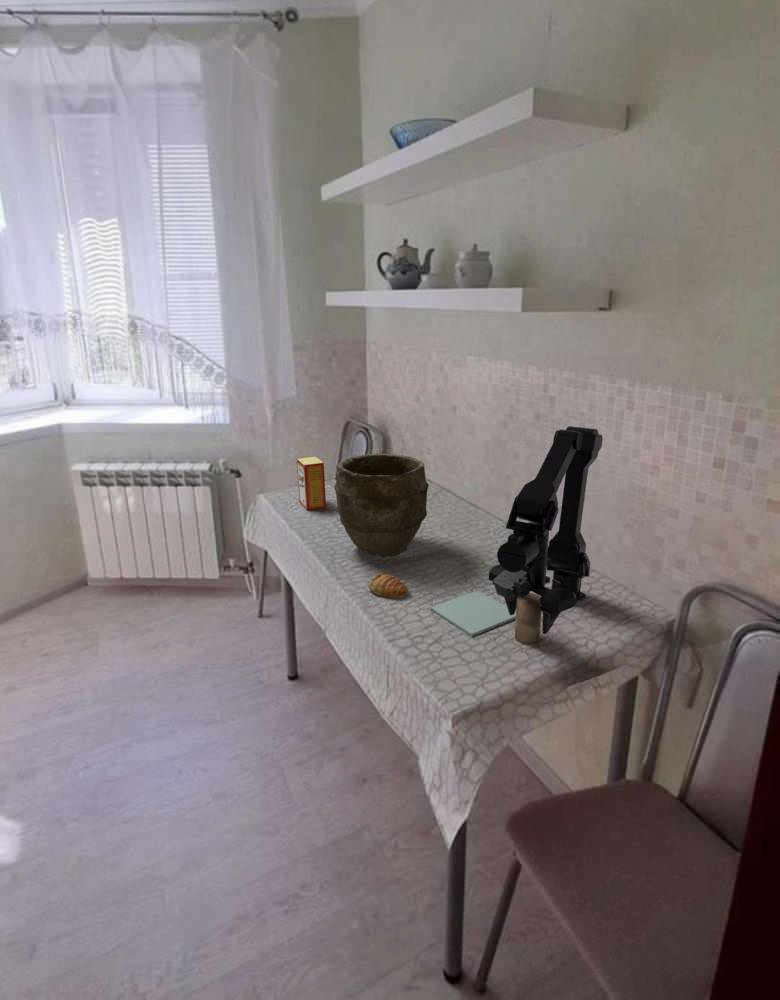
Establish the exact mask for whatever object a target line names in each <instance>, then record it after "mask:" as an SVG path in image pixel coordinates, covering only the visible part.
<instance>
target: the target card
mask: <svg viewBox="0 0 780 1000" xmlns="http://www.w3.org/2000/svg"><path fill="white" fill-rule="evenodd" d="M429 610H430V611H432V612H433V613H434V614H436V615H438V616H439V617H440V618H441V619H442V618H443V619H444V620H446V621H447V622H448V623H450V624H452V625H453V626H455V627H456V628H458V629H459V630H461V631H463V632H464V633H466V634H467V635H468V636H470V637H473V636H476V635H479V634H481V633H484V632H486V631H488V630H491V629H494V628H496V627H498V625H499V626H501V625H504V624H506V623H509V622H511V621H513V620H516V611H515V614H514V615H510V614H509V611H508V608H507V605H504V604H503V603H501V602H498V601H497V600H495V599H493V598H491V597H489V596H488V595H486V594H484V593H482V592H480V591H478V590H475V591H472V592H469V593H467V594H464V595H460V596H459V597H456V598H453V599H450V600H448V601H447V600H446V601H444V602H441V603H439V604H435V605H433V606H430V609H429Z"/></svg>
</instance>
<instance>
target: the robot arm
mask: <svg viewBox="0 0 780 1000" xmlns="http://www.w3.org/2000/svg"><path fill="white" fill-rule="evenodd" d="M603 441H604V439H603V435H602V434H599V430H598V429H597V428H591V427H590V428H589V427H581V426H580V427H579V426H572V425H569V426H567V427H566V429H557V430H556V431H555V433H554V435H553V441H552V442H553V443H552V444H551V446H550V448H549V450H548V452H547V454H546V456H545V458H544V460H543V463H542V465H541V466H540V468H539V470H538V473H537V474H536V476H535V477H534V479H532V480H530V481H529V482H527V483H525V484H524V485H523V486H522V488H521V489H520V491H519V493H518V494H517V495H516V496H515V497H514V500H513V502H512V503H513V504H512V507H511V509H510V513H509V517H508V519H507V522H506V525H505V526H506V527H505V529H507V530H512V531H513V532H512V533H511V534H509V535H508V536H507V541H505V542H504V543H503V544H501V545H500V547H498V549H497V552H496V558H497V561H498V564H496V565H494V566H492V567H490V569H489V571H488V581H491V582H492V584H493V586H494V590H495V593H496V594H497V595H498V596H501V597H503V599H504V601H505V604H506V605H505V606H506V607H507V608H508V611H509V614H510V615H514V614H515V612H516V607H517V597H521V598H523V597H525V596H526V595H527V594H528V593H533V594H537V595H539V596H540V597H541V598H540V604H541V605H542V606H541V607H539V609H540V610H541V611H542V621H541V625H542V626H541V627H542V634H544V635H545V634H548V633H549V632H550V630H551V628H552V627H553V625H554V624H555V622H556V620H557V619H558V617H559V616H560V615H561V613H562V612H565V611H568V610H570V609H572V608H574V607H576V604H577V601H578V600H580V599H582V598H584V597H585V598H586V593H585V592H582V591H581V590H582V589H581V588H582V579H584V578H586V577H590V572H591V571H590V570H591V561H590V559H589V556H588V554H587V553H586V551H587V550H586V549H587V548H586V547H587V543H586V541H585V538H584V537H583V535H582V533H581V529H582V528H581V527H582V520H583V515H584V513H583V512H584V506H585V505H584V504H585V497H586V490H587V481H588V473H589V468H590V467H591V466H592V465H593V463H594V462H595V461H596V459H597V458H598V457H599V452H600V451H601V449H602V445H603ZM563 479H564V484H563V493H562V501H561V507H560V510H559V500H558V496H557V493H558V490H559V488H560V486H561V483H562V482H563ZM559 511H560V517H559V526H558V531H557V532H556V534H555V535H553V537H552V538H551V539H550V540H549V538H550V532H551V531H552V529H553V528H554V525H555V522H556V520H557V516H558V514H559ZM517 519H518V520H517ZM520 520H522V521H520ZM525 521H526V522H525ZM547 571H551V572H553V575H552V580H551V577H550V576H547ZM549 583H551V588H550V587H547V586H546V584H549Z"/></svg>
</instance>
